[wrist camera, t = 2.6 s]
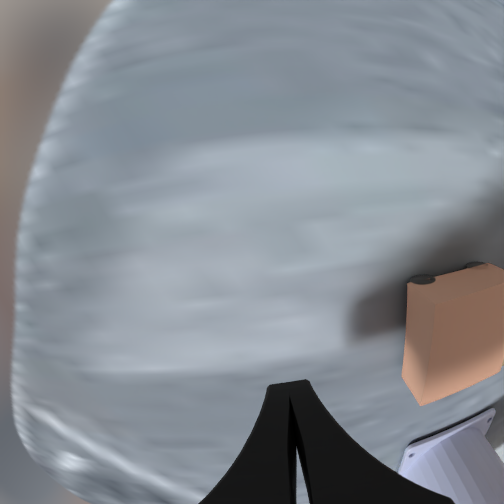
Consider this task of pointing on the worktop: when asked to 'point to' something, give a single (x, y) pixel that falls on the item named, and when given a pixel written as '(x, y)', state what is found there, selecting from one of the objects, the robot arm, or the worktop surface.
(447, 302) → the peach toy brick
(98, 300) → the worktop surface
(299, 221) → the worktop surface
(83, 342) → the worktop surface
